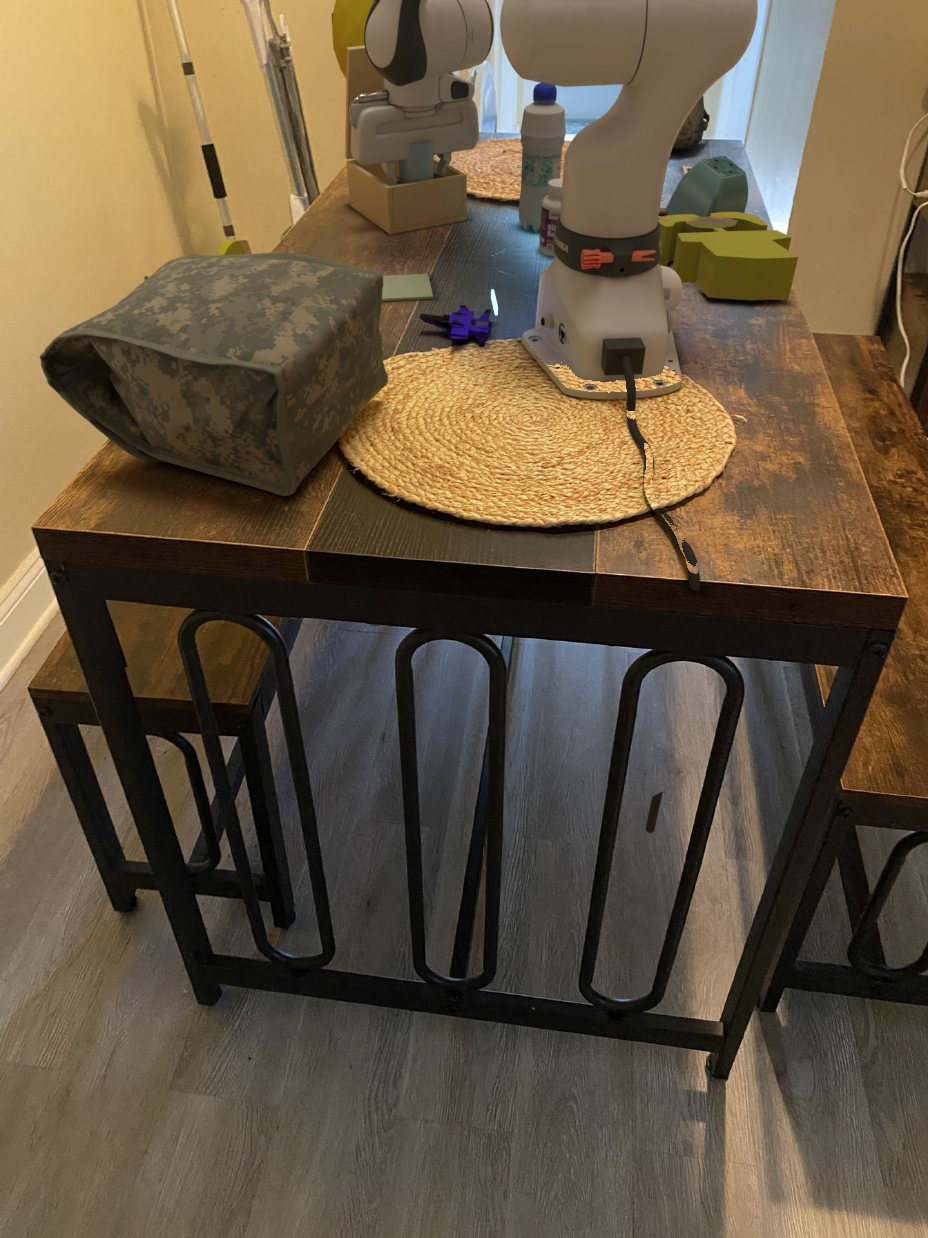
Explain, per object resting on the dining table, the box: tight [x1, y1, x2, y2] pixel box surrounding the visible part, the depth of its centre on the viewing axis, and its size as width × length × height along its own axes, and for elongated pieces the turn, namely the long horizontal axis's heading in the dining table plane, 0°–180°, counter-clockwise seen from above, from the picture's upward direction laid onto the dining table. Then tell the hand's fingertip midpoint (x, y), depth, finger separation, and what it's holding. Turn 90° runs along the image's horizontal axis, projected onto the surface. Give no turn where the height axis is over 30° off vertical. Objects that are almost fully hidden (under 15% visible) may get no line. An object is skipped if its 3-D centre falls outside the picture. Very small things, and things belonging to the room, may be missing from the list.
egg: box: [661, 266, 683, 311], centre depth 116 cm, size 6×6×8 cm
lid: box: [344, 45, 384, 160], centre depth 143 cm, size 16×14×5 cm
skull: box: [672, 95, 711, 151], centre depth 175 cm, size 20×18×20 cm
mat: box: [382, 273, 434, 302], centre depth 125 cm, size 8×10×1 cm
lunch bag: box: [39, 251, 389, 497], centre depth 93 cm, size 22×16×27 cm
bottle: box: [518, 82, 567, 233], centre depth 137 cm, size 7×7×20 cm
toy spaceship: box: [419, 304, 493, 348], centre depth 114 cm, size 10×9×2 cm
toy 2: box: [658, 212, 799, 301], centre depth 126 cm, size 16×6×20 cm
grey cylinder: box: [399, 141, 435, 184], centre depth 143 cm, size 7×5×11 cm
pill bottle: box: [538, 178, 563, 258], centre depth 133 cm, size 5×5×10 cm
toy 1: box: [331, 0, 374, 79], centre depth 171 cm, size 27×24×30 cm
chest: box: [346, 156, 468, 235], centre depth 146 cm, size 16×14×7 cm
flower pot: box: [665, 155, 749, 217], centre depth 138 cm, size 9×9×9 cm
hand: (417, 186), depth 143 cm, fingers open, 6 cm apart
